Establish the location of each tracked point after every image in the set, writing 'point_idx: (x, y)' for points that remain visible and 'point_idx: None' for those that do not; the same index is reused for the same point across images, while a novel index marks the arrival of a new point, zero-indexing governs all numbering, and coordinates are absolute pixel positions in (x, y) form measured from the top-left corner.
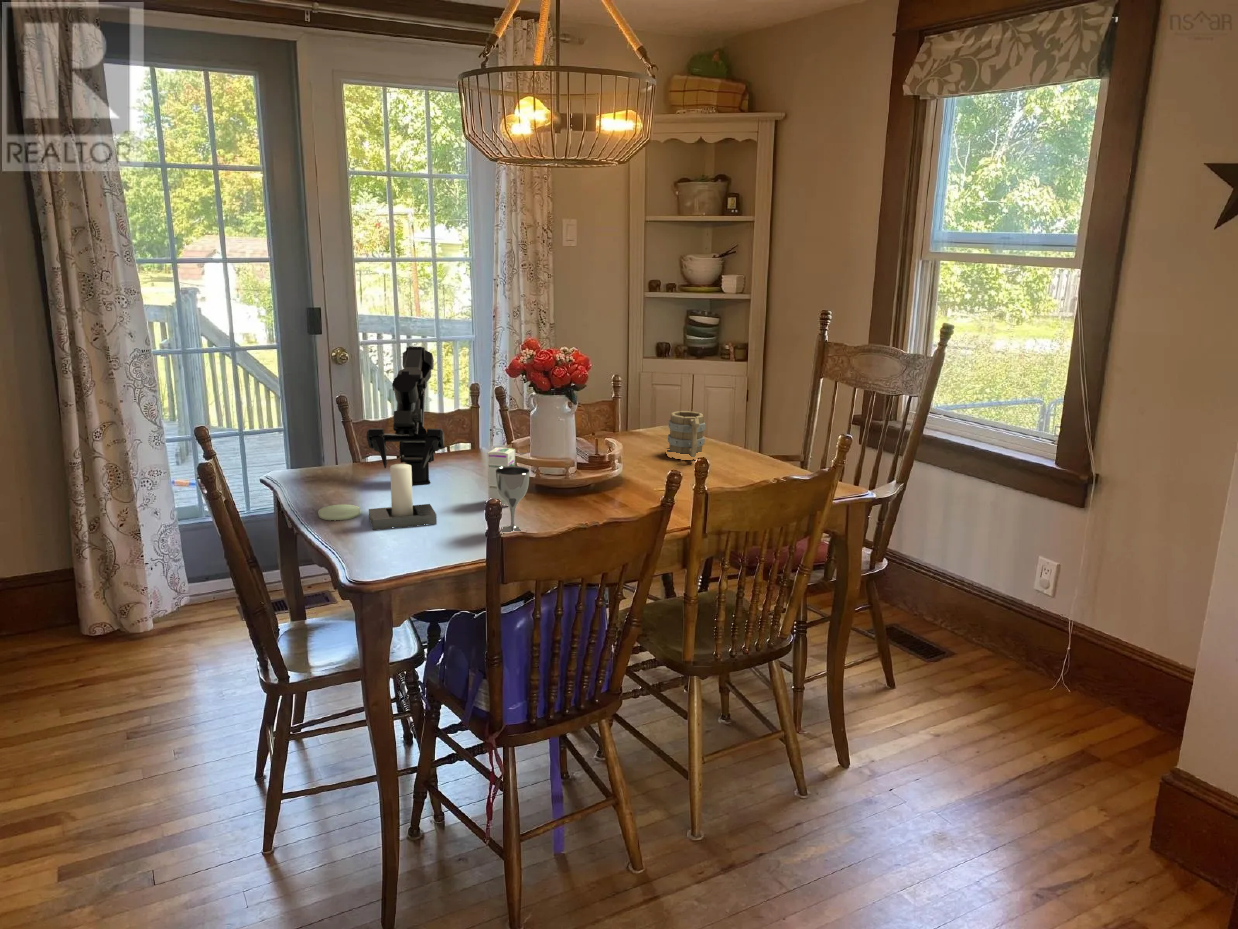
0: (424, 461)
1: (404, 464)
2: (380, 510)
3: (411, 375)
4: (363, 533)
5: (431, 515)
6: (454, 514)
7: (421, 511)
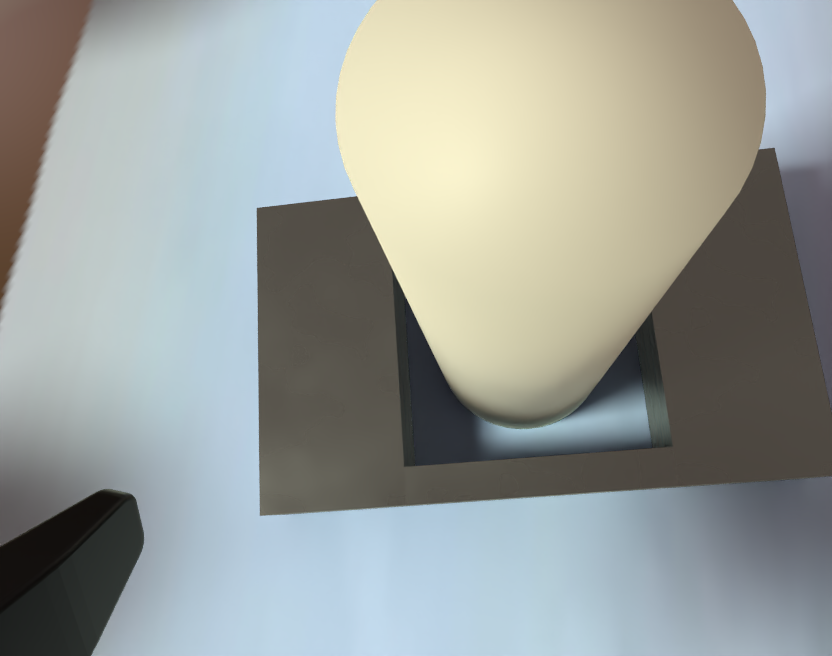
0: (25, 536)
1: (459, 236)
2: (722, 404)
3: None
4: (815, 131)
5: (296, 204)
6: (115, 447)
7: (360, 307)
